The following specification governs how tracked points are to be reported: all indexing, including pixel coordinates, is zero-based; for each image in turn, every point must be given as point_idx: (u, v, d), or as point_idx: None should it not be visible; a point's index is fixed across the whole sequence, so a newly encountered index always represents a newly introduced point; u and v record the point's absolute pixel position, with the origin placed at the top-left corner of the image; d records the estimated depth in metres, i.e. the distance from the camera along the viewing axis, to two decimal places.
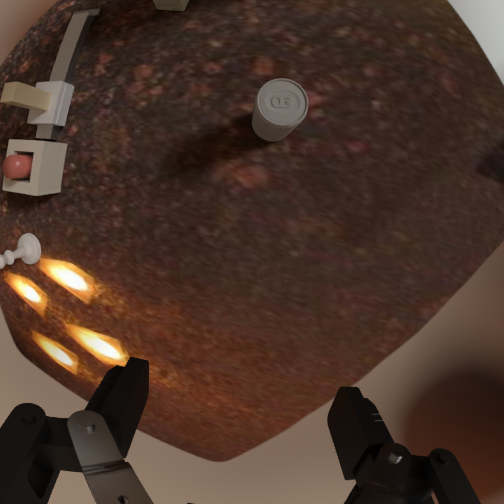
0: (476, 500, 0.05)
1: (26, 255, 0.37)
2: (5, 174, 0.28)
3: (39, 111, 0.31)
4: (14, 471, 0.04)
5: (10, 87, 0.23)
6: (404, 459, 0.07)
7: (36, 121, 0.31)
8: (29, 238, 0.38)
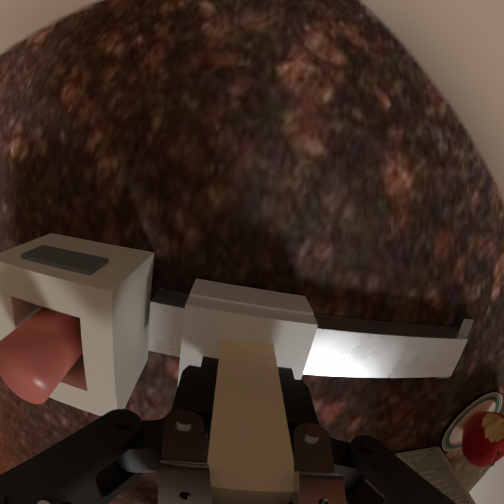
0: (420, 479, 0.06)
1: None
2: None
3: (216, 350, 0.14)
4: (82, 468, 0.05)
5: None
6: (320, 441, 0.08)
7: (186, 342, 0.14)
8: None
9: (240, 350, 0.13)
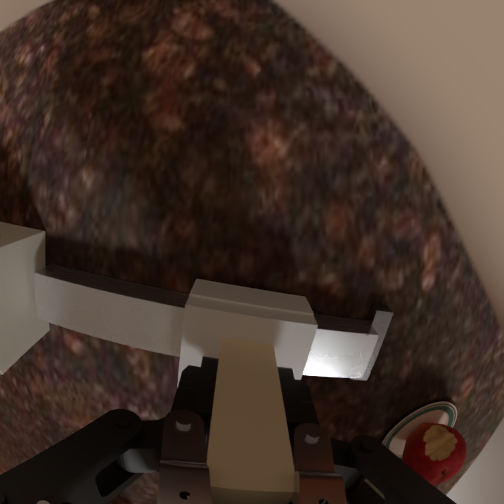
0: (420, 479, 0.06)
1: None
2: None
3: (216, 351, 0.14)
4: (82, 468, 0.05)
5: None
6: (320, 441, 0.08)
7: (186, 342, 0.14)
8: None
9: (240, 350, 0.13)
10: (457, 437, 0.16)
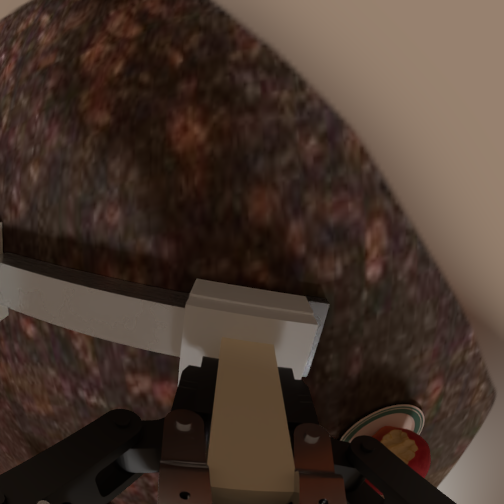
0: (420, 479, 0.06)
1: None
2: None
3: (216, 350, 0.14)
4: (82, 468, 0.05)
5: None
6: (320, 441, 0.08)
7: (186, 342, 0.14)
8: None
9: (240, 350, 0.13)
10: (419, 444, 0.16)
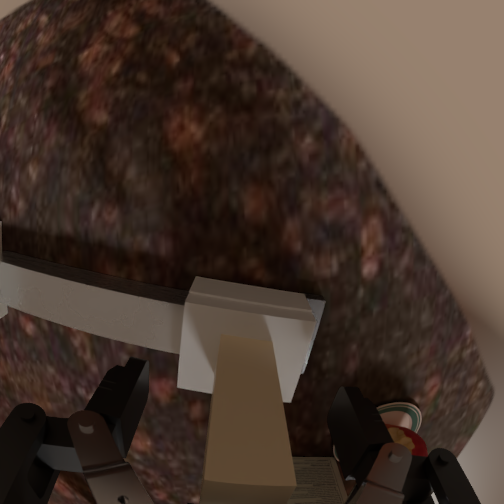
0: (475, 500, 0.05)
1: None
2: None
3: (215, 347, 0.14)
4: (13, 471, 0.04)
5: None
6: (404, 459, 0.07)
7: (185, 339, 0.14)
8: None
9: (239, 347, 0.13)
10: (415, 442, 0.16)
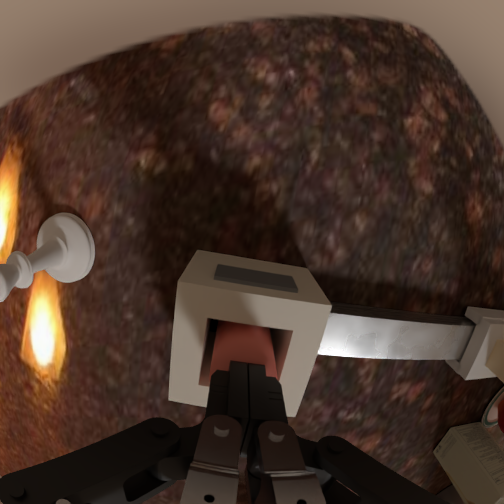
0: (395, 475, 0.07)
1: None
2: (222, 363, 0.13)
3: (492, 348, 0.18)
4: (110, 473, 0.05)
5: None
6: (284, 439, 0.08)
7: (482, 346, 0.18)
8: (82, 263, 0.18)
9: None
10: None
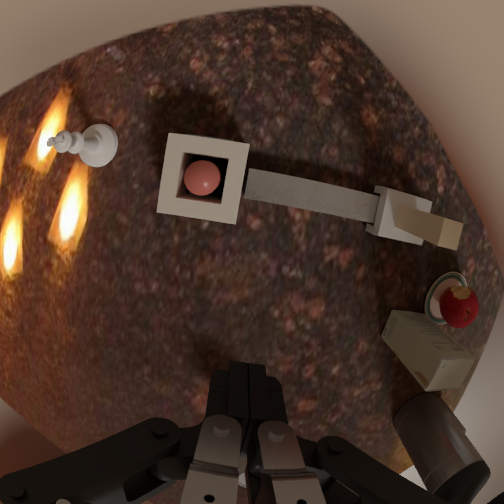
0: (395, 475, 0.07)
1: (86, 150, 0.28)
2: (190, 167, 0.25)
3: (397, 211, 0.29)
4: (110, 473, 0.05)
5: (454, 237, 0.22)
6: (284, 439, 0.08)
7: (386, 207, 0.29)
8: (109, 150, 0.29)
9: None
10: (470, 289, 0.32)
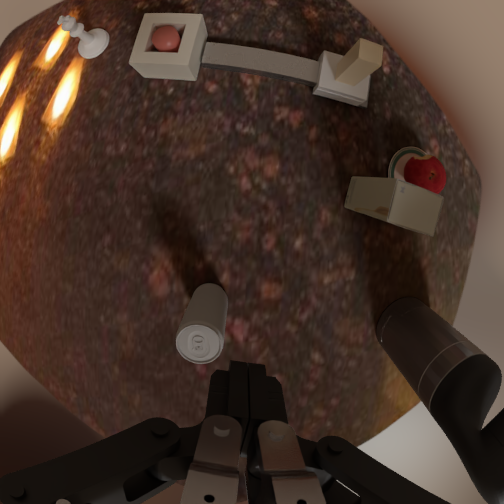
0: (395, 475, 0.07)
1: (84, 44, 0.30)
2: (157, 31, 0.26)
3: (335, 68, 0.30)
4: (111, 473, 0.05)
5: (376, 54, 0.23)
6: (284, 439, 0.08)
7: (324, 64, 0.30)
8: (101, 44, 0.31)
9: None
10: (433, 156, 0.33)
